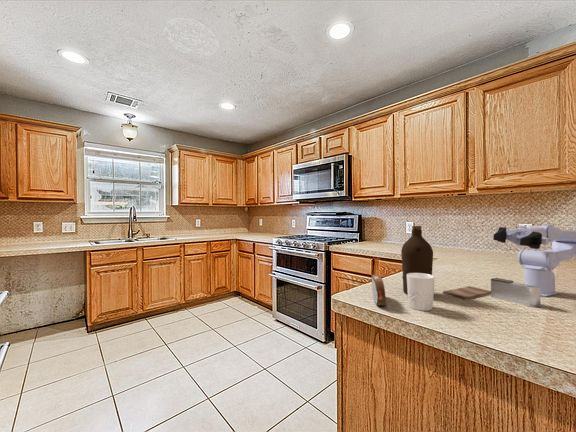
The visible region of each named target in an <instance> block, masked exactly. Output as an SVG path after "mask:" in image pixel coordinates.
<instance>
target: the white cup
mask: <svg viewBox="0 0 576 432" xmlns="http://www.w3.org/2000/svg"><path fill="white" fill-rule="evenodd" d="M407 291H408V294H407V298H408V307H410V308H411V309H414V310H416V311H417V310H418V311H424V312H427V311H432V310H433V306H434V304H433V303H434V295H435V293H434V292H435V275H433V274H432V275H430V274H424V273H408V274H407Z"/></svg>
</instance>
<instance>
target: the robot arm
mask: <svg viewBox="0 0 576 432" xmlns="http://www.w3.org/2000/svg"><path fill="white" fill-rule="evenodd" d="M507 228H508V227H503V226H499V227H498V230H496V231H495V233H493V241H497V242H499V243H503V244H504V243H505V244H506V242H507V241H508V242H511V243H513V244H515V245H517V246H521V247H528V248H530V249H531V250H530V249H525V248H523V249H521V250H519V252H518V254H517V261H518V263H519V265H521V267H522V268H523V269H524V270H523V273H524V274H523V275H524V277H523V279H524V280H523V282H524V283H523V284H527V285H532V286H537V287H540V294H541V296H542V297H551V296H553V295H557V294H559V293H560V292H559V291H557V290H556V275H555V272H553V270H555V269H557V267H558V266H560V263H561V262H565V261H569V260H573V259H574V258H575V257H576V230H571V229H560V228H559V227H557V226H555V225H554V224H541V225H529V226H528V227H527V225H519V226H518V227H517V228H514V229H507ZM550 242H551V248H550V249H544V250H539V249H540V248H541V245H543V246H545V245H546V246H547V245H549V243H550ZM532 249H534V250H532Z"/></svg>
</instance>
